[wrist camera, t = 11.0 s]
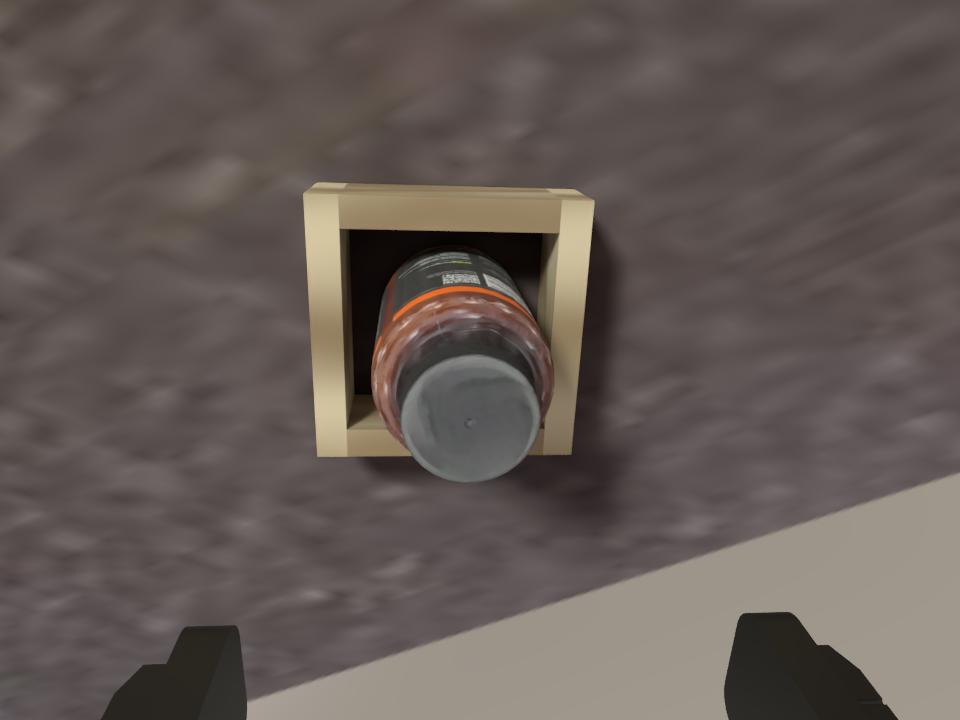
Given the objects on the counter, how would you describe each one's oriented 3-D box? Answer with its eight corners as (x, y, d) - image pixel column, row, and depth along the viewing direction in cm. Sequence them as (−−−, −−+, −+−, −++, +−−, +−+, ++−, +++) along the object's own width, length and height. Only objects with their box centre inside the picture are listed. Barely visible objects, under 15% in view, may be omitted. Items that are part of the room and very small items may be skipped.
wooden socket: (317, 182, 27) (303, 193, 24) (574, 189, 28) (594, 201, 25) (328, 419, 31) (317, 456, 28) (555, 418, 32) (571, 454, 29)
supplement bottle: (427, 396, 31) (430, 549, 20) (354, 285, 29) (316, 391, 18) (543, 331, 30) (609, 455, 20) (477, 213, 28) (512, 281, 18)
